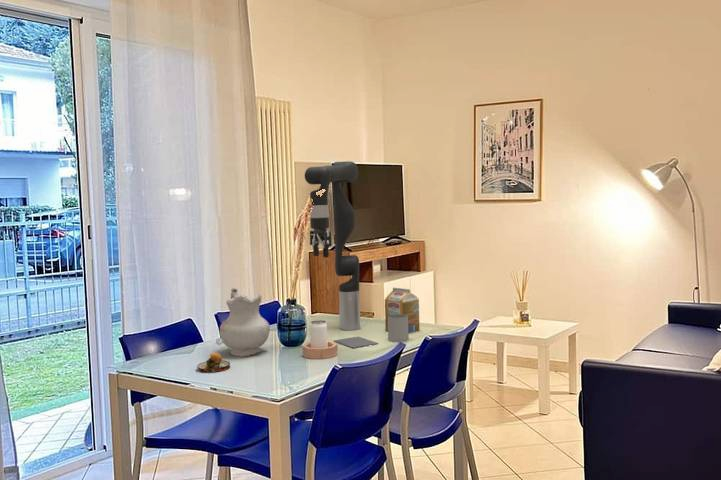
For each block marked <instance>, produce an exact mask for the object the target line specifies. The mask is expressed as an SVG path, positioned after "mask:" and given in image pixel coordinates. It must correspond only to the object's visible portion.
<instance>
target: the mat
mask: <svg viewBox="0 0 721 480" xmlns="http://www.w3.org/2000/svg"><path fill="white" fill-rule="evenodd" d="M333 343H336V344H338V345H343V346H344V347H347V348H350V349H358V348H359V347H360V348H364V346H366V347H370V346H369V345H372V346H378V345H379V342H377V341H374V340H370V339H367V338H364V337H362V336H352V337H347V338H341V339H334V340H333ZM377 344H378V345H377Z"/></svg>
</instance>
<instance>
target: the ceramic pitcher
mask: <svg viewBox="0 0 721 480" xmlns="http://www.w3.org/2000/svg"><path fill="white" fill-rule="evenodd" d="M230 291H231V292H230V299H227V300H226V303H225V304H226V305H227V307H228V310H229V315H228V317H227V319H225V320H224V321H223V322H222V323H221V324H220V326H219V336H220V339H221V342H222V343H223V344H224V345H225V346H226V347H227V348H229V349H231V352H230V353H229V354H230V355H233V356H235V357H240V358H241V357H242V358H243V357H245V358H246V357H249V356H253V355H254V354H258V353H260V352H261V349H259V348H260V347H262V346H263V345H264V344H265V343H266V342H267V340H268V338H269V336H270V323H269V322H268V320H266V319H265V318H264V317H263V316H262V315H261V314H260V311H259V310H260V305H261V303H262V296H261V294H259V293H257V294H256V295H255V296H254V298H249V297H248V295H246V294H241V295H240V293H239V290H238V289H237V288H235V287H234V288H233V287H231V290H230Z"/></svg>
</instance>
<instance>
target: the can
mask: <svg viewBox="0 0 721 480" xmlns="http://www.w3.org/2000/svg"><path fill="white" fill-rule="evenodd" d="M309 329H310V330H309V331H310V332H309V335H310V336H309V338H310V339H309V340H310V343H311V348H326V347H328V342H329V341H328V325H327V322H326V320H322V319H320V320H319V319H317V320H313V321H311V322H310V325H309Z"/></svg>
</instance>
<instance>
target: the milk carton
mask: <svg viewBox="0 0 721 480" xmlns="http://www.w3.org/2000/svg"><path fill="white" fill-rule="evenodd" d="M384 314H385V315H384V317H385V318H384V320H385V322H384V324H385V333H388V316H389V315H393V314H405V315H408V335H409V334H413V333H417V332H420V299H419V298H418V297H417V296H416V295H415V294H414V293H412V291H411V289H409V288H401V287H393V288H392V291H391V292H390V293H388V295H387V296H386V297H385V298H384Z"/></svg>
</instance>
